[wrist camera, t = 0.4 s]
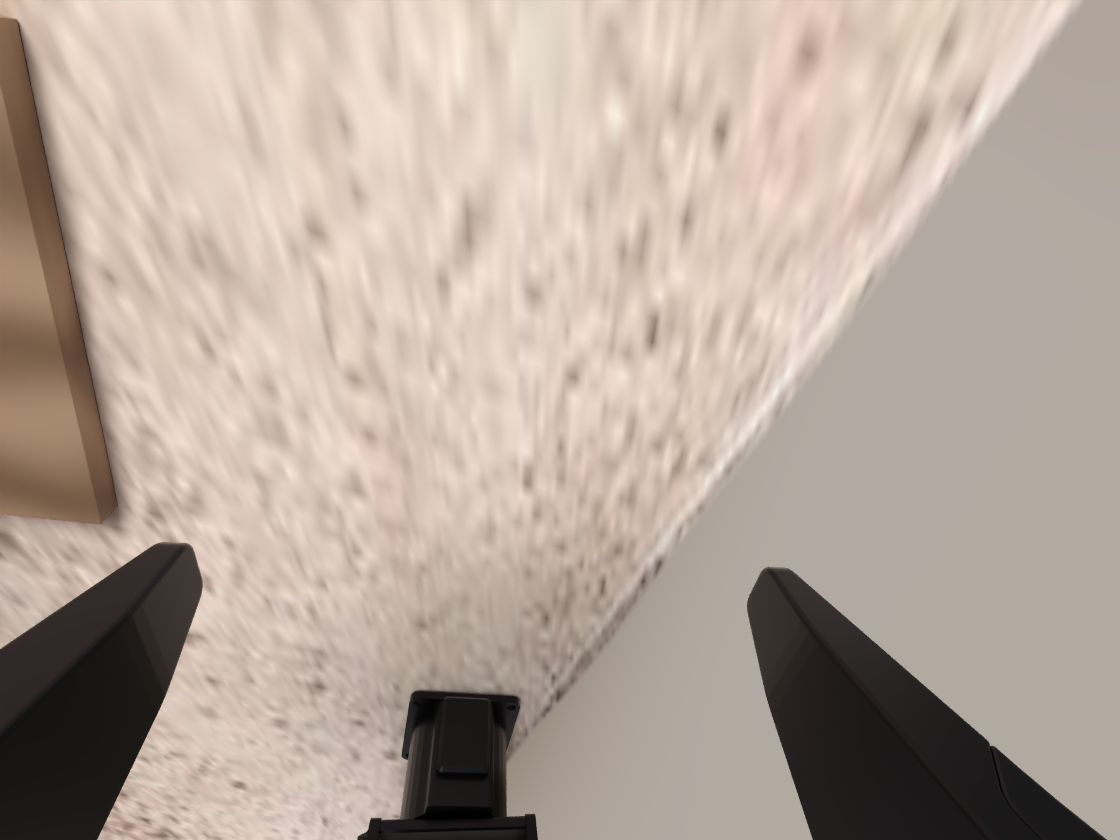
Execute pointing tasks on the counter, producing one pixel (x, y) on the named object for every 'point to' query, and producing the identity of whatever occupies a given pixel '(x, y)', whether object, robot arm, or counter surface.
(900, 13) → the counter surface
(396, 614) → the counter surface
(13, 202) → the walnut board
